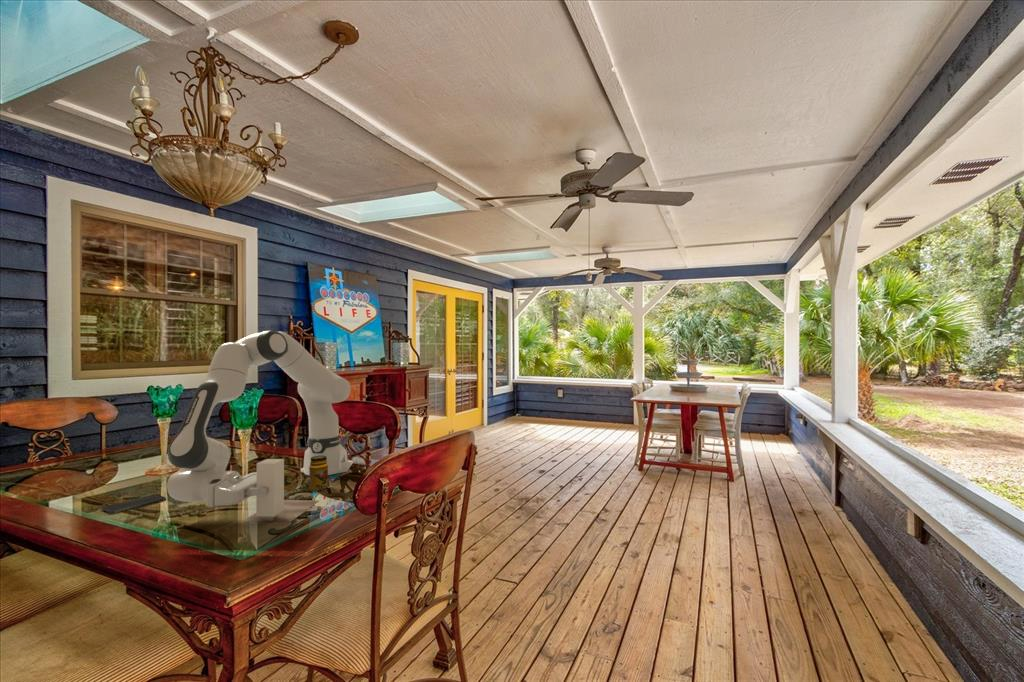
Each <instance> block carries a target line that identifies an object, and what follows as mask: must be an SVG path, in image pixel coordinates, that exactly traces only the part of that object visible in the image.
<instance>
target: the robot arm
mask: <svg viewBox="0 0 1024 682" xmlns="http://www.w3.org/2000/svg"><path fill="white" fill-rule="evenodd" d="M270 362H274V363H275V364H276V365H277V366H278V367H279V368H281V370H282V371H283V372H284V373H285V374H287V376H289V378H291V379H292V380H293V381H294V382H296V383H298V384H297V393H298V394H299V396H300V397H301V399H302V400H303V402H304V405H305V408H306V412H307V416H308V417H307V418H308V437H307V447H308V448H307V449H305V451H304V457H303V458H304V459H303V467H302V468H300V473H303V474H304V475H306V476H309V466H310V462H311V457H313V456H319V455H323V456H326V457H327V464H328V476H330V475H336V474H340V473H346V472H348V471H349V470H350V468H351V467H352V465H353V463H354V461H353V460H350V459H348V450H346V448H345V447H344V446H343V445H342V444H341V440H342V439H343V433H341V434H340V433H339V415H338V414H337V412H336V411H335V410H334V408H333V404H337V403H341V402H345V400H347V399H348V398H349V396H350V394H351V384H350V383H349V380H347V379H346V378H344V377H342V376H340V375H339V374H337V373H335V372H333V371H332V370H331V369H329V368H328V367H327V366H325V365H323V364H322V363H321V362H319V360H317V359H316V358H315V357H314V356H313V355H311V353H310V352H309V351H308V350H307V349H306V348H305V347H304V346H303V345H301V343H300V342H299V341H298V340H297V339H295V338H294V337H292V336H291V335H289V334H288V333H287V332H284V331H280V330H279V331H277V330H271V329H270V330H264V331H262V332H255V333H253V334H252V333H251V334H250V335H247V336H245V337H243V338H241V339H236V340H234V341H233V342H225V343H222V344H220V345H219V346H218V348H217V349H216V351H215V353H214V354H213V357H212V359H211V362H210V364H209V368H208V372H207V373H206V374H207V375H206V377H205V380H204V382H202V383H201V384H200V385H199V386H198V387H197V389H196V390H195V392H194V393H193V395H192V396H193V397H192V398H191V401H190V403H189V405H188V408H187V410H186V412H185V415H184V418H183V420H182V422H181V425H180V427H179V429H178V431H177V433H176V434H175V436H174V437H173V438H172V440H171V441H170V443H169V445H168V449H167V458H168V461H169V463H170V464H171V465H172V466H175V467H176V468H179V470H177V471H176V472H174V473H173V474H171V475H170V476H169V478H168V480H167V483H166V487H167V488H166V489H167V492H168V495H169V496H170V497H171V498H172V499H173V500H175V501H177V502H178V501H179V502H185V503H186V502H187V503H203V502H205V503H206V507H207V508H214V507H219V506H220V507H221V506H223V507H224V506H234V505H237V504H239V503H242V502H243V501H245V500H247V499H249V498H250V497H255V496H256V495H265V494H267V493H268V489H269V488H268V487H261V488H256V484H257V471H255V472H254V471H253V472H250V473H247V474H246V475H241V473H240V472H238V471H237V470H227V467H228V465H229V462H230V459H231V457H232V456H231V455H232V454H231V448H230V447H229V446H228V445H227V443H224V442H222V441H219V440H217V439H214V438H211V437H208V435H207V433H206V429H207V426H208V423H209V420H210V418H211V415H212V412H213V410H214V408H215V407H216V405H218V404H219V403H229V402H231V401H234V400H236V399H239V397H241V396H242V394H243V392H244V390H245V388H246V385H247V379H248V374H249V369H250V368H255V367H259V366H264V365H265V364H268V363H270Z"/></svg>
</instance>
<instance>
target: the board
mask: <svg viewBox="0 0 1024 682" xmlns="http://www.w3.org/2000/svg"><path fill="white" fill-rule="evenodd" d="M318 502H319V500H311V499H310V500H306V499H304V500H303V499H300V500H299V499H298V500H297V499H295V500H294V499H291V500H290V499H284V510H283V511H282V512H280V513H279V514H277V518H276V519H274V520H273V521H264V516H256V512H255V513H254V514H252V515H250V516H248V517H247V518H246V519H244V520H243V522H253V523H254V522H258V523H259V522H261V523H262V522H265V523H268V522H269V523H272V522H273V523H274V522H276V523H291V522H293V521H294V520H295V519H297V518H298V517H299V516H301V515H302V514H303V513H305V512H306V511H307V510H309V509H310V508H312V507H313V506H315V505H316V504H317V503H318Z"/></svg>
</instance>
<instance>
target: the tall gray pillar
mask: <svg viewBox="0 0 1024 682" xmlns="http://www.w3.org/2000/svg"><path fill="white" fill-rule="evenodd" d="M256 472H257V484H256V488H261V487H268V488H269V489H268V493H267V494H265V495H256V504H255V505H256V509H255V511H256V512H255V513H256V516H270V517H274V516H276V515H277V514H279V513H280V512H282V511H283V510H284V500H285V459H284V458H266V459H263V460H261V461H259V462H257V463H256Z"/></svg>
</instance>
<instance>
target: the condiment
mask: <svg viewBox="0 0 1024 682" xmlns="http://www.w3.org/2000/svg"><path fill="white" fill-rule="evenodd" d="M308 476H309V477H308V478H309V479H308V481H309V482H308V483H309V485H308V486H309V491H315V492H317V491H322V490H326V489H328V488H329V475H328V464H327V457H326V456H323V455H319V456H313V457H311V462H310V466H309V475H308Z"/></svg>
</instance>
